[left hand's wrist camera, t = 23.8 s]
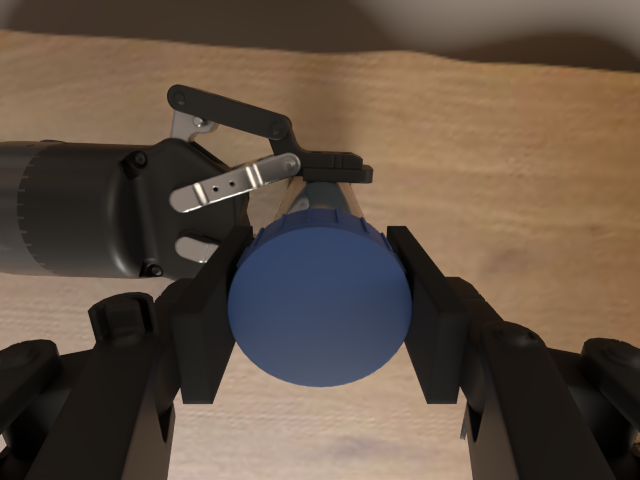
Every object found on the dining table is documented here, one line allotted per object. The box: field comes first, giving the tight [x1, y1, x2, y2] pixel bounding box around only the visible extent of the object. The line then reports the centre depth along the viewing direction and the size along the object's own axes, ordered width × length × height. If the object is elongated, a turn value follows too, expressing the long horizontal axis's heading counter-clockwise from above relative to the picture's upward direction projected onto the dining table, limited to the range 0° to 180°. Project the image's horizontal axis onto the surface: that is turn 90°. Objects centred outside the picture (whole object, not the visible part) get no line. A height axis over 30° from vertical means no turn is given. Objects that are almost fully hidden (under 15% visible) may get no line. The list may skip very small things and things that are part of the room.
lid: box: [227, 207, 413, 387], centre depth 11 cm, size 6×6×2 cm
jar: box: [273, 176, 366, 222], centre depth 18 cm, size 5×5×15 cm
